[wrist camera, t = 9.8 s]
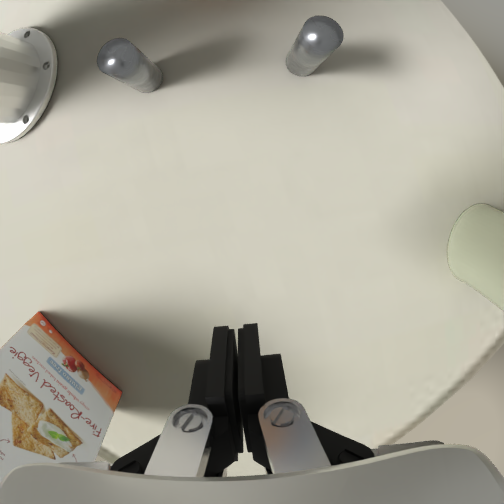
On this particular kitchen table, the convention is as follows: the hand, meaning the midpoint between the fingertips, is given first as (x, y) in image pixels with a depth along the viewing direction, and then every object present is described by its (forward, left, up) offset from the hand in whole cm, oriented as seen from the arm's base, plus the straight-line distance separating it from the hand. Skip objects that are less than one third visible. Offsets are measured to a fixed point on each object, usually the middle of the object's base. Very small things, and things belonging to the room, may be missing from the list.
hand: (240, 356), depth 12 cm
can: (+26, -3, -17) cm, 31 cm away
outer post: (+7, +15, -17) cm, 24 cm away
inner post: (-6, +15, -17) cm, 24 cm away
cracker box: (-22, -13, -17) cm, 31 cm away
